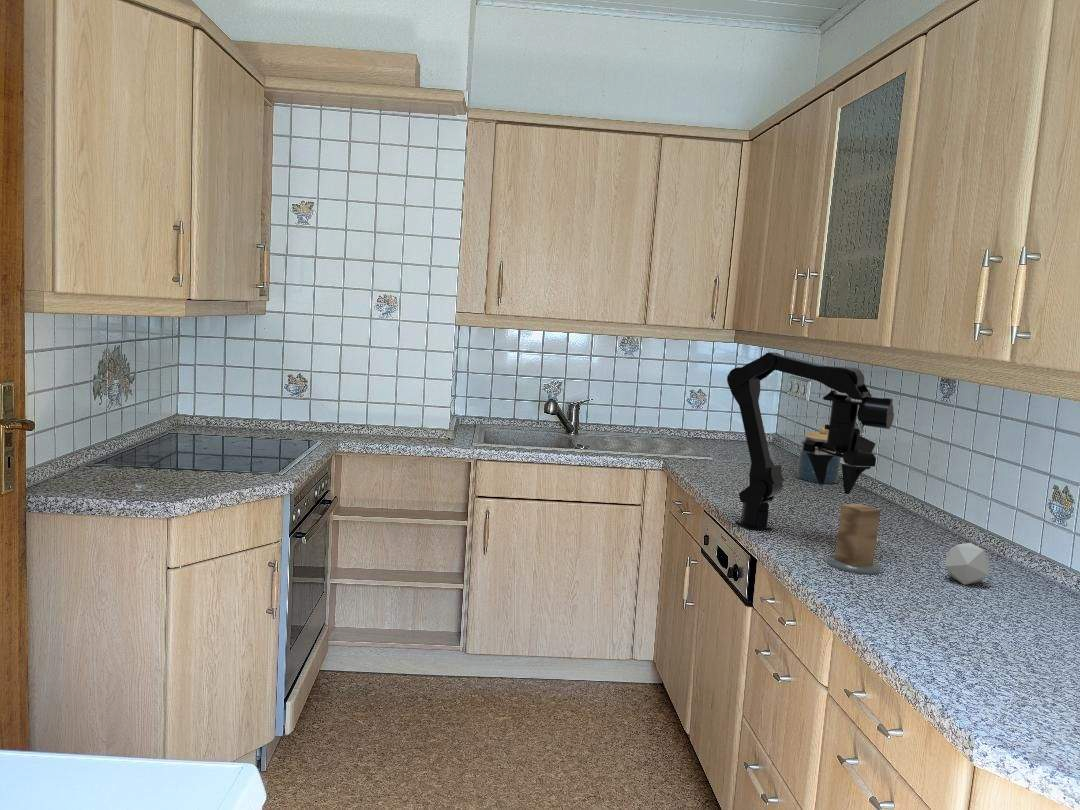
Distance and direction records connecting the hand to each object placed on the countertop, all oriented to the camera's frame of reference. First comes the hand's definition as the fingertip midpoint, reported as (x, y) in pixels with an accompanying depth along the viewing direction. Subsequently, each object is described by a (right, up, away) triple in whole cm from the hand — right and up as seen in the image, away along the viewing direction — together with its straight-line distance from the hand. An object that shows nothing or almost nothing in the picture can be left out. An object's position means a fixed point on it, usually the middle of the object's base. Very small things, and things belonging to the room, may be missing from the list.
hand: (833, 489), depth 201 cm
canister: (+23, -5, +85) cm, 88 cm away
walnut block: (-1, -14, -15) cm, 21 cm away
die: (+21, -18, -19) cm, 33 cm away
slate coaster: (-1, -15, -15) cm, 21 cm away
